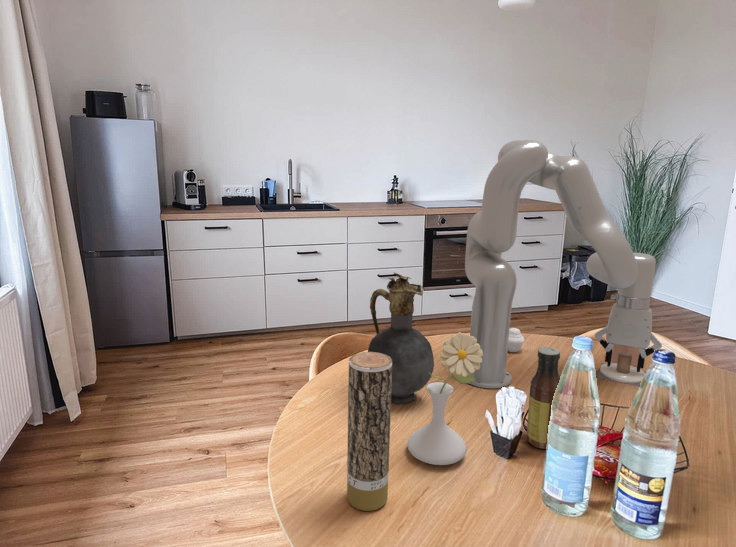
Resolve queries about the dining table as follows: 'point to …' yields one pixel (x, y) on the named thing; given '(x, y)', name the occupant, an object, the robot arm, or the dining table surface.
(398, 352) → the pitcher
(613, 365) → the lid
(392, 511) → the dining table surface
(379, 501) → the paper tube
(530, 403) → the sauce bottle
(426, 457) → the flower in vase
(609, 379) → the mat
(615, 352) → the bowl
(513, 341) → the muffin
